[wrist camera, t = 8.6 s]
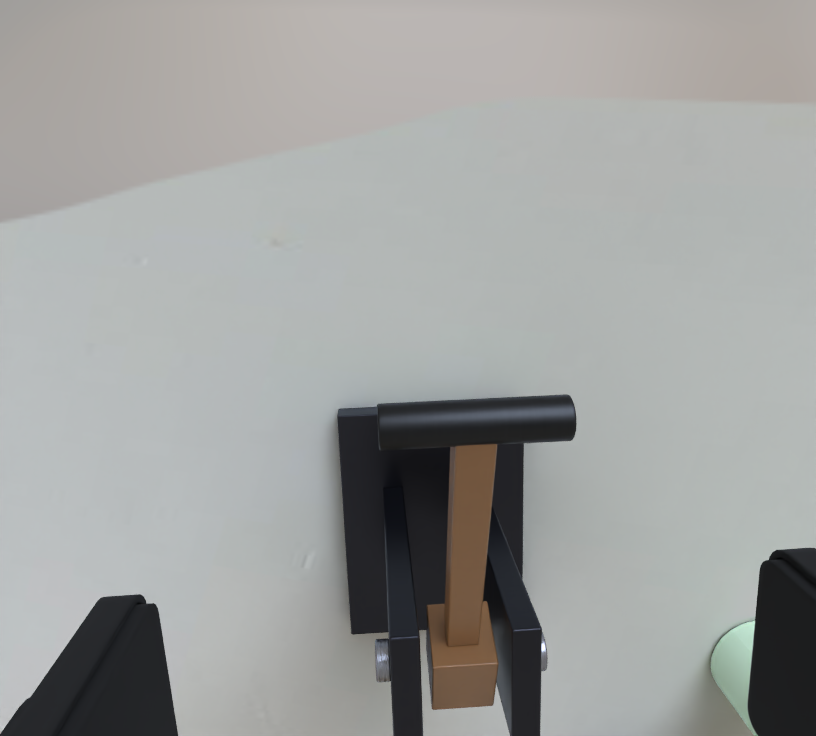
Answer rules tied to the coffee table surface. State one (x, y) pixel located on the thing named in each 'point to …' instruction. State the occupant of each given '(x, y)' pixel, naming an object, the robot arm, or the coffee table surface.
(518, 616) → the bracket
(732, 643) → the candle
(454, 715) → the coffee table surface
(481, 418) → the lever
